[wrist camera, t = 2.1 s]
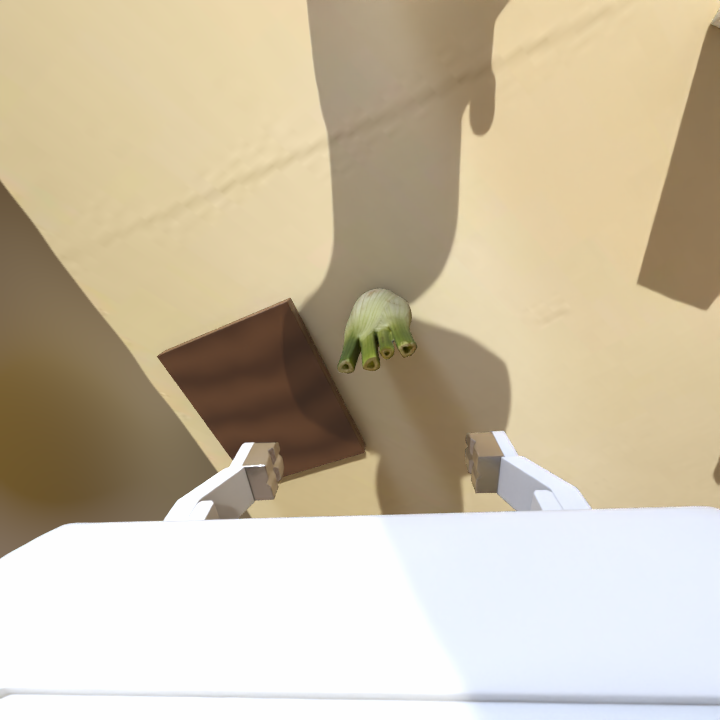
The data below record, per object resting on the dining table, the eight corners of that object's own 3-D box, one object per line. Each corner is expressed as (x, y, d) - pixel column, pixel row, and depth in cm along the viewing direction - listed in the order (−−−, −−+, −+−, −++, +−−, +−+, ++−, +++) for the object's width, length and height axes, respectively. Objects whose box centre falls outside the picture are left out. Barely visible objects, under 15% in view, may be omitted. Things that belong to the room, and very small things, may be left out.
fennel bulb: (347, 327, 35) (333, 382, 24) (352, 280, 33) (340, 317, 22) (401, 334, 35) (413, 393, 24) (411, 288, 33) (427, 329, 22)
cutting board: (164, 350, 37) (156, 356, 36) (290, 297, 34) (287, 301, 32) (255, 477, 44) (251, 486, 43) (365, 444, 41) (364, 452, 40)
